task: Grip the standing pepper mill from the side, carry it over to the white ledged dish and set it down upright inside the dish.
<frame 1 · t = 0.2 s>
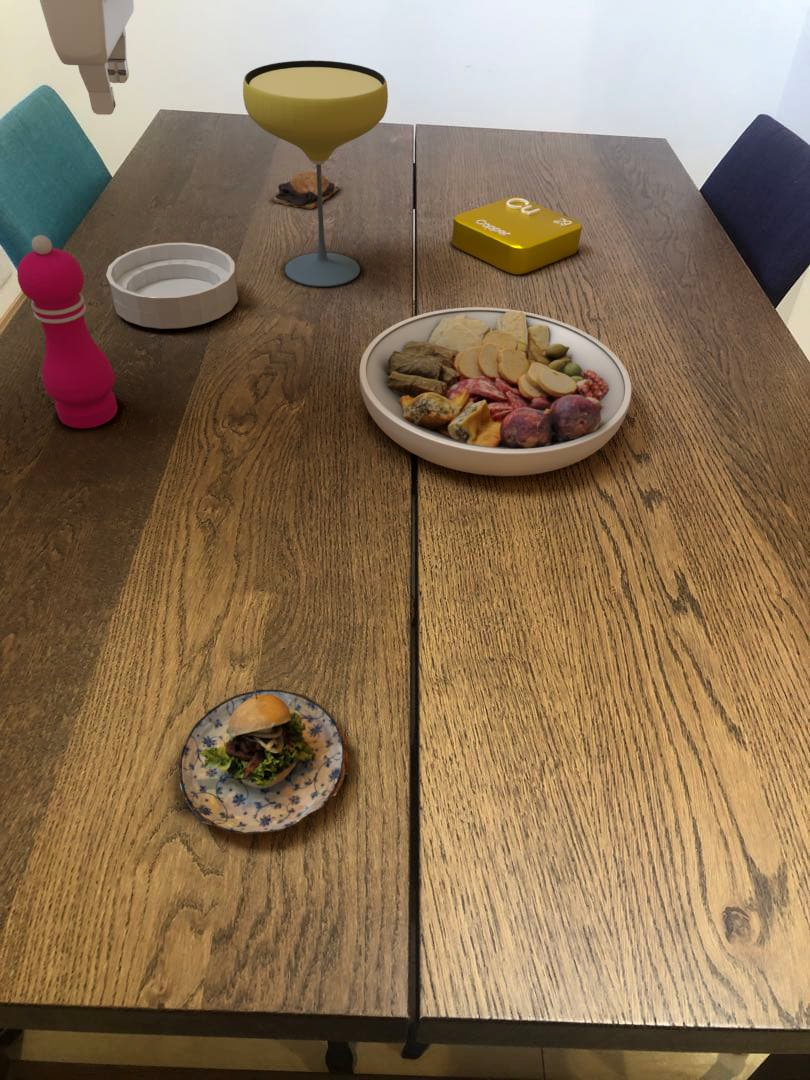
hand: (112, 95, 73), 31 cm above the table, tool pointing down, fingers open, 8 cm apart
cocktail glass: (322, 271, 119), on the table
bowl: (489, 410, 94), on the table
white ledged dish: (177, 304, 110), on the table
element tile: (514, 249, 127), on the table
pepper mill: (89, 414, 91), on the table
topped cracker: (306, 196, 139), on the table
burger: (266, 770, 59), on the table
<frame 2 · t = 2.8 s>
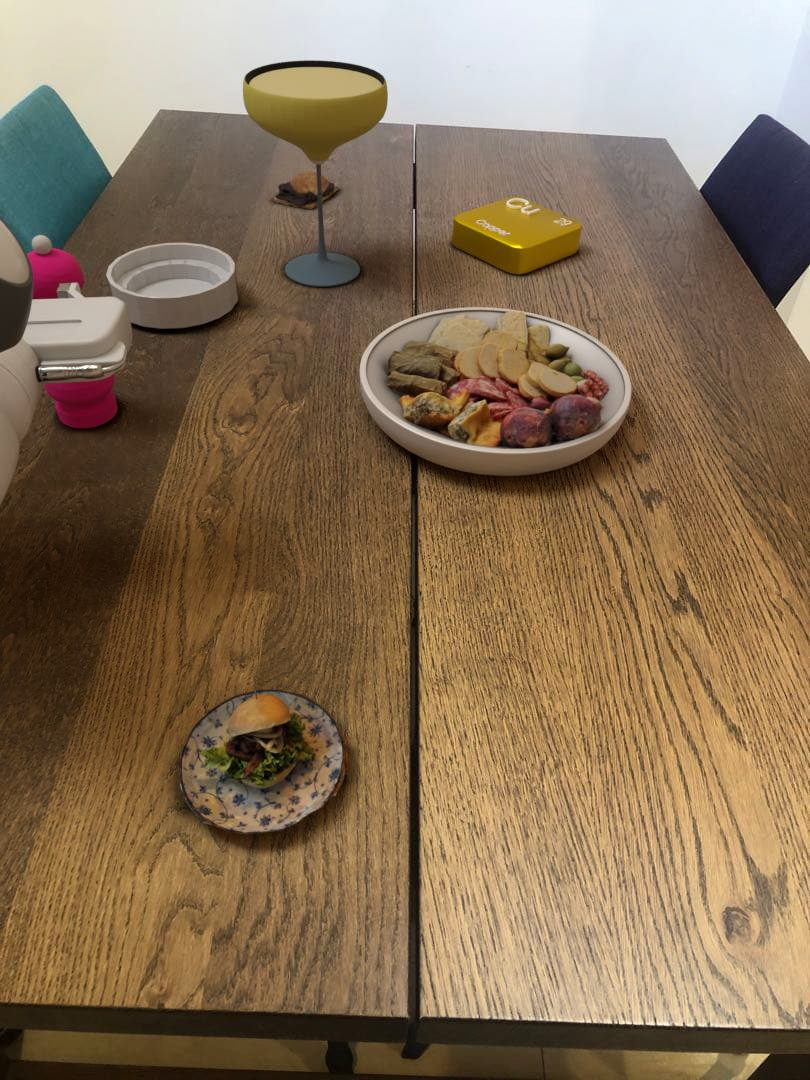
hand: (13, 293, 68), 20 cm above the table, tool horizontal, fingers open, 8 cm apart
nothing on the table moved.
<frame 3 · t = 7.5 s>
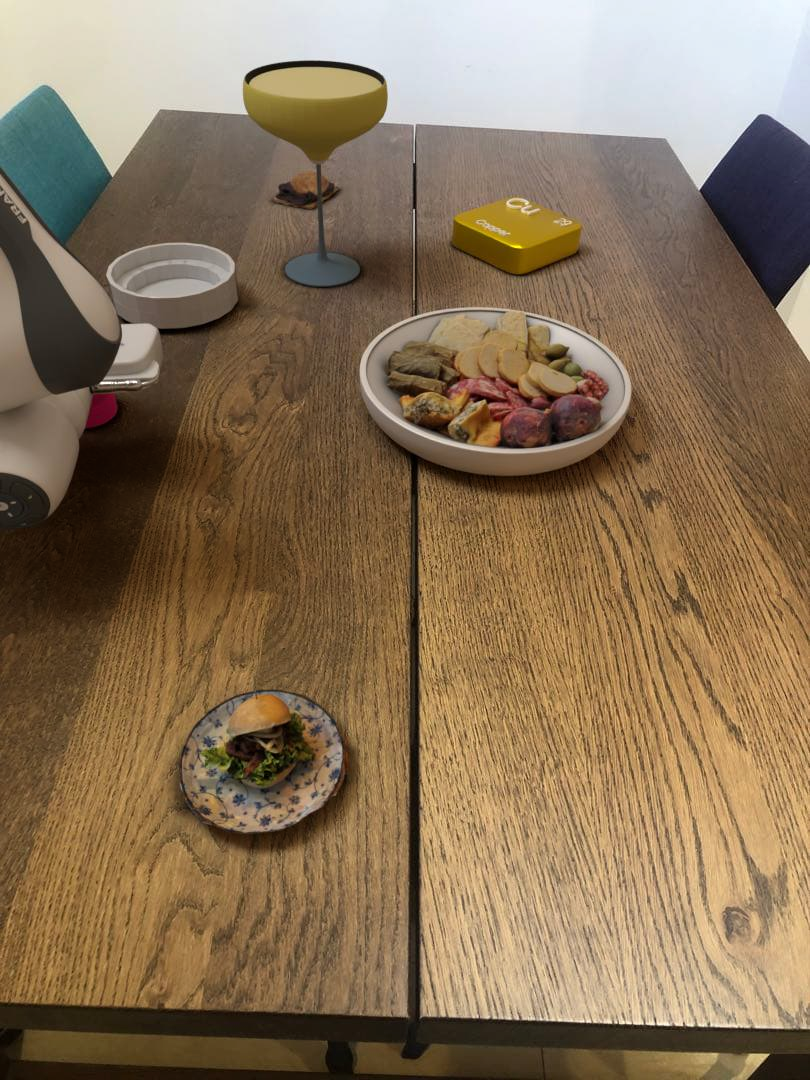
hand: (65, 318, 84), 11 cm above the table, tool horizontal, fingers closed on pepper mill, 4 cm apart
pepper mill: (89, 414, 91), on the table, touching gripper
everything else where it was.
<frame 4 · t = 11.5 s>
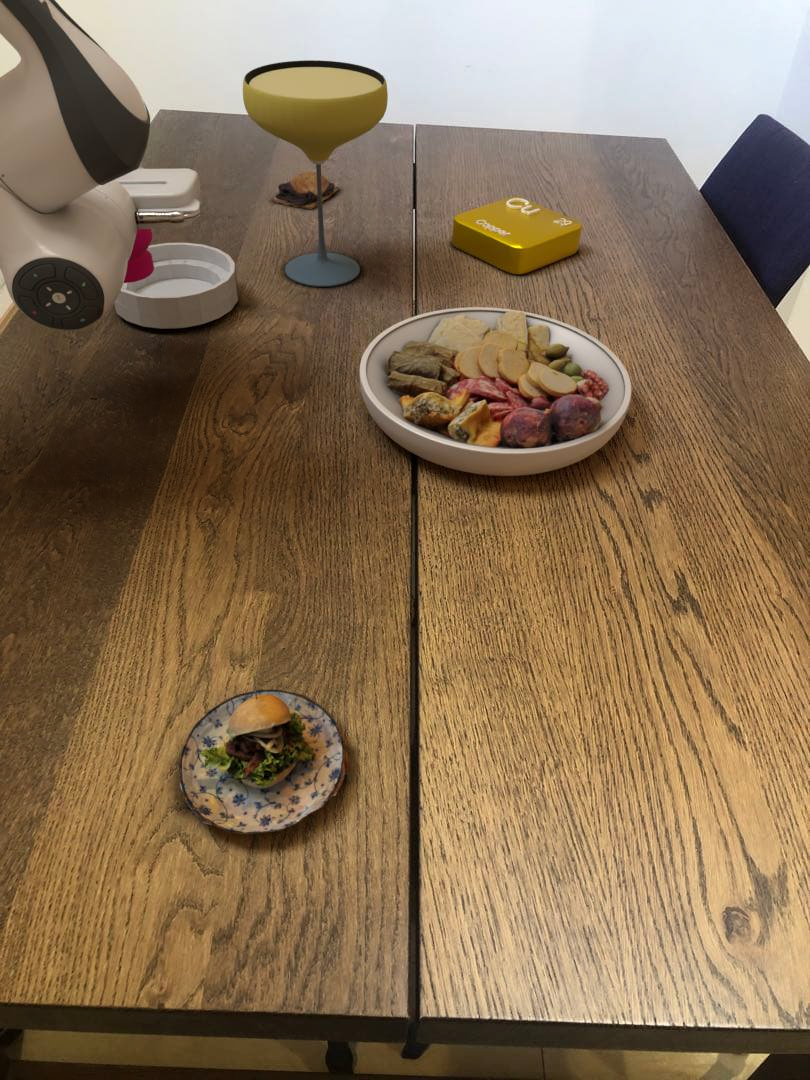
hand: (107, 170, 88), 21 cm above the table, tool horizontal, fingers closed on pepper mill, 4 cm apart
pepper mill: (126, 273, 95), point 10 cm above the table, touching gripper
everything else where it was.
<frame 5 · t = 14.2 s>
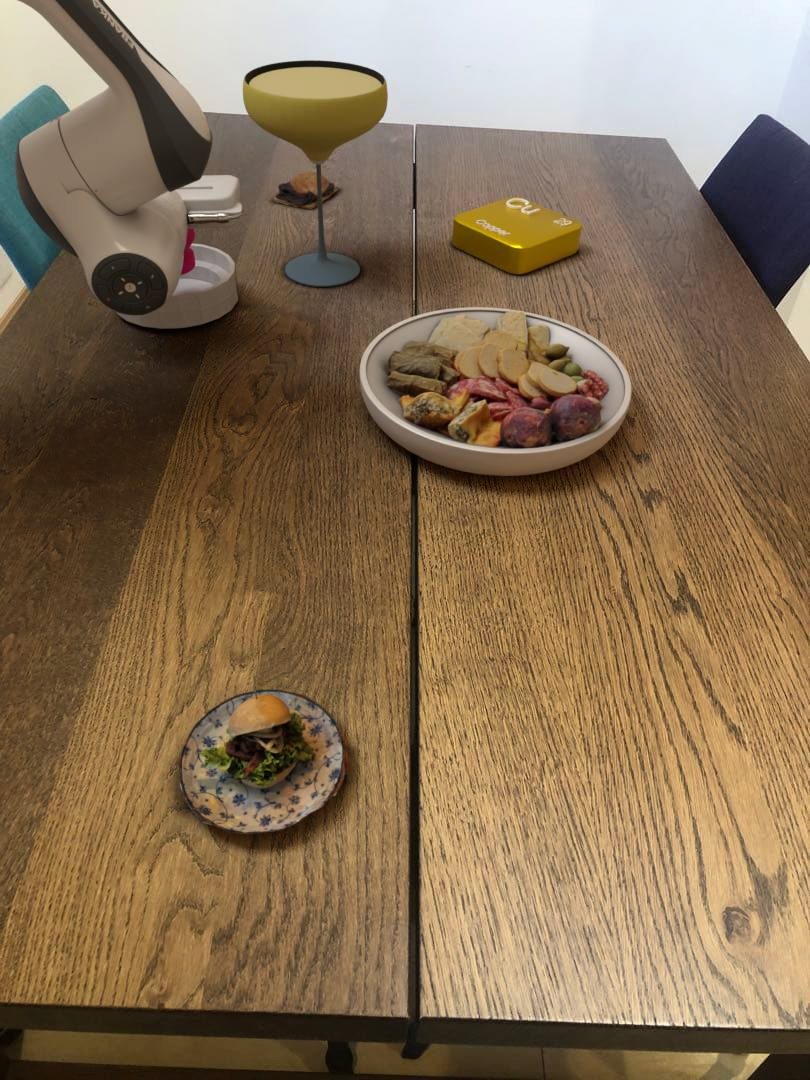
hand: (157, 176, 99), 16 cm above the table, tool horizontal, fingers closed on pepper mill, 4 cm apart
pepper mill: (171, 268, 106), point 5 cm above the table, touching gripper
everything else where it was.
when the fingers open (12 cm above the table, at t = 15.9 s): pepper mill stays where it is, resting on white ledged dish.
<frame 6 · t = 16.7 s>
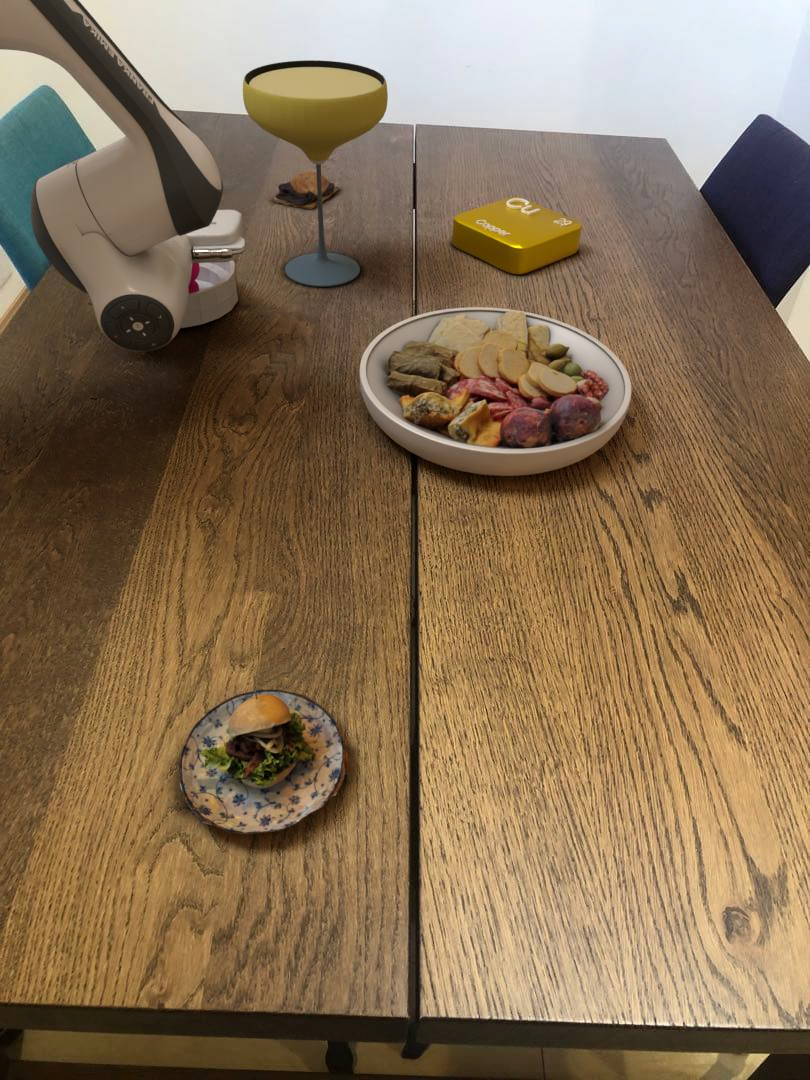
hand: (161, 209, 102), 12 cm above the table, tool horizontal, fingers open, 8 cm apart
pepper mill: (176, 300, 109), point 1 cm above the table, touching white ledged dish
everything else where it was.
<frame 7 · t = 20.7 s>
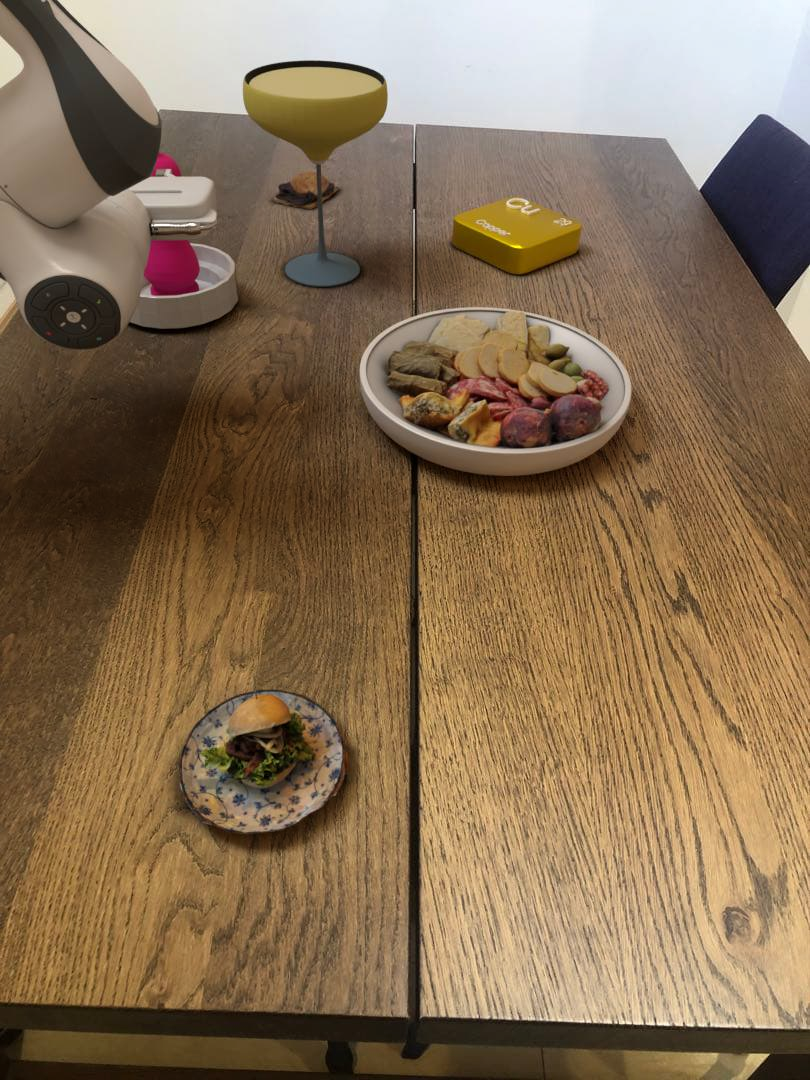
hand: (118, 176, 84), 22 cm above the table, tool horizontal, fingers open, 8 cm apart
nothing on the table moved.
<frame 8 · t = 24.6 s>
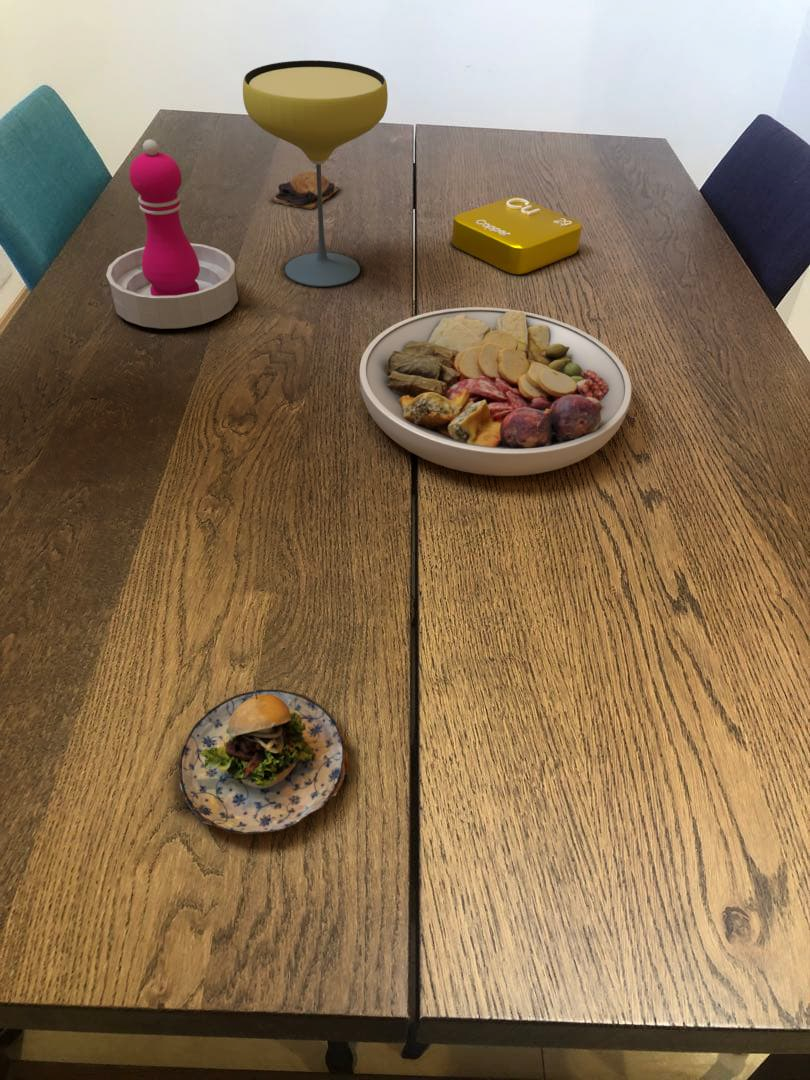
nothing on the table moved.
at the end: pepper mill inside the target area in the white ledged dish (0.1 cm from its centre), point 0.6 cm above the white ledged dish's base; pepper mill tilted 0°; the gripper is holding nothing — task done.
